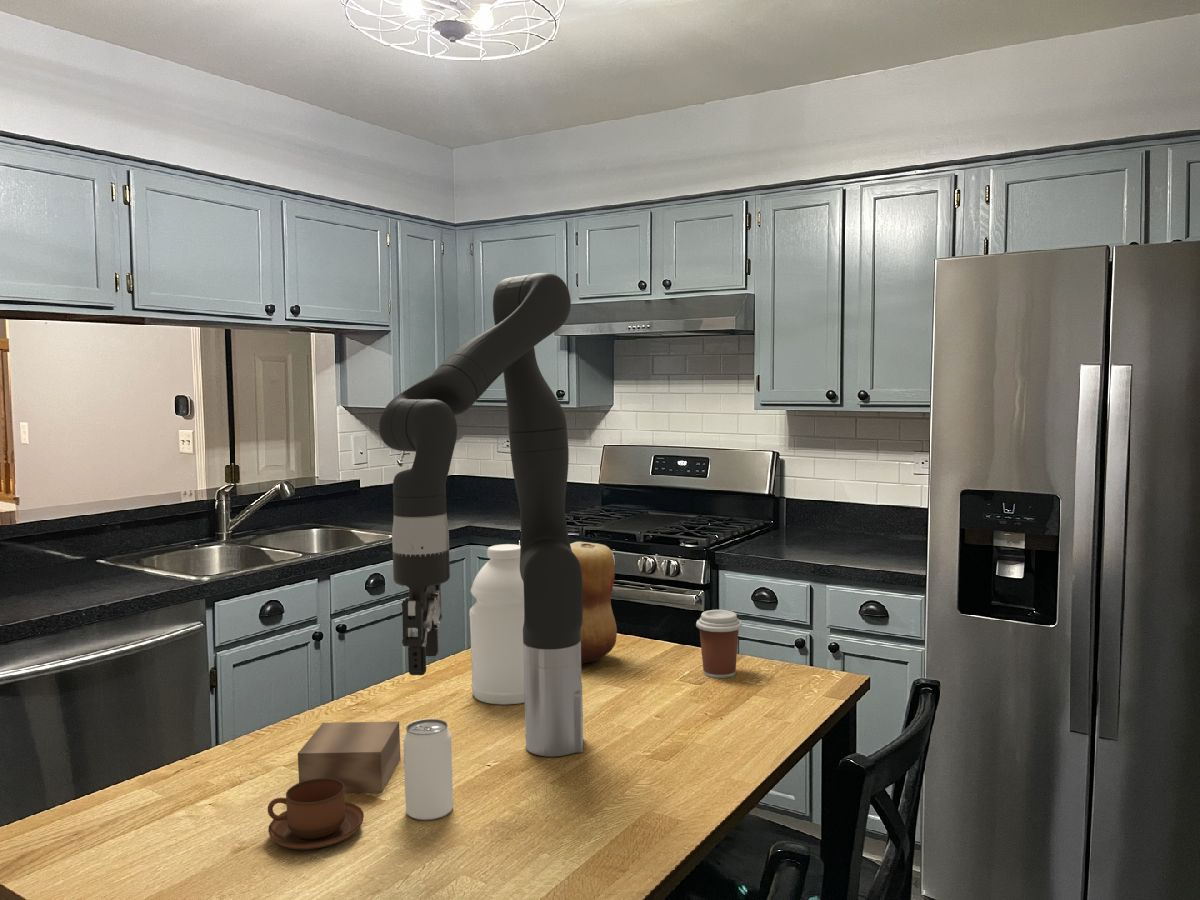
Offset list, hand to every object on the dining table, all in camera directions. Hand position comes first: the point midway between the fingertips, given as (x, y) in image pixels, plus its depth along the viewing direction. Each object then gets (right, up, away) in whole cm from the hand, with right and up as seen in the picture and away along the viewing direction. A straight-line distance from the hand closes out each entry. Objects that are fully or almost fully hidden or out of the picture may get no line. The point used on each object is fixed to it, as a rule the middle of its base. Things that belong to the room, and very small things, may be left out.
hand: (424, 664), depth 127 cm
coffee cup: (+48, -15, +59) cm, 78 cm away
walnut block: (-13, -20, +14) cm, 28 cm away
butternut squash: (+21, -15, +68) cm, 73 cm away
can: (0, -21, +1) cm, 21 cm away
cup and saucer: (-13, -22, -5) cm, 26 cm away
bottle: (+7, -17, +49) cm, 53 cm away
